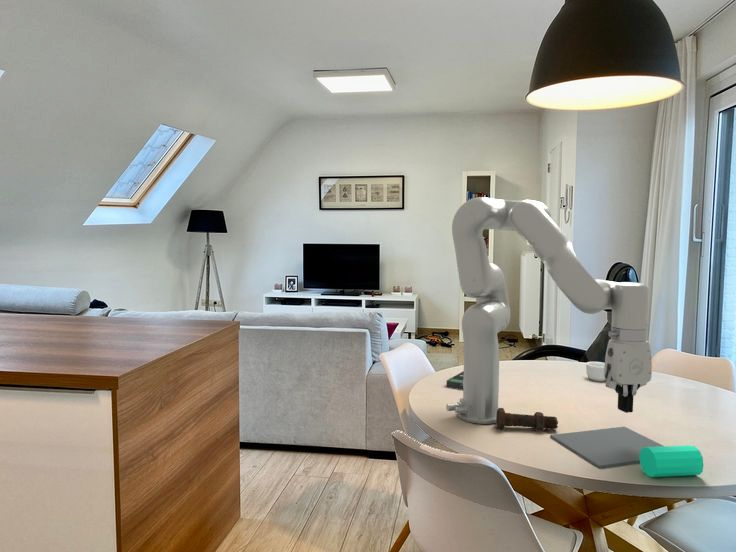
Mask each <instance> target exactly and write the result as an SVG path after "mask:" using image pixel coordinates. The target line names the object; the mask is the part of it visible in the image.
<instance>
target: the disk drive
mask: <svg viewBox="0 0 736 552" xmlns="http://www.w3.org/2000/svg"><path fill="white" fill-rule="evenodd" d="M463 380H464V370H463V371H462V372H459V373H457V374H455V376H452V377H450V378H448V379H446V388H450V387H452V388H451V389H455V388H458V389H457V390H461V389H463Z"/></svg>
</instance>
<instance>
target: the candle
mask: <svg viewBox="0 0 736 552" xmlns="http://www.w3.org/2000/svg"><path fill="white" fill-rule="evenodd" d="M639 459H640V463H639V465H640V467H641V470H642V472H643V473H644V474H645V475H646V476H647V477H650V478H661V477H678V476H679V477H681V476H700V475H701V474H702V473H703V472H704V471H703V470H704V457H703V456H702V453H701V450H700V449H698V447H696V446H695V445H690V444H689V445H687V444H686V445H668V446H667V445H665V446H664V445H663V446H660V447H643V448H642V449H641V450H640V455H639Z"/></svg>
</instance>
